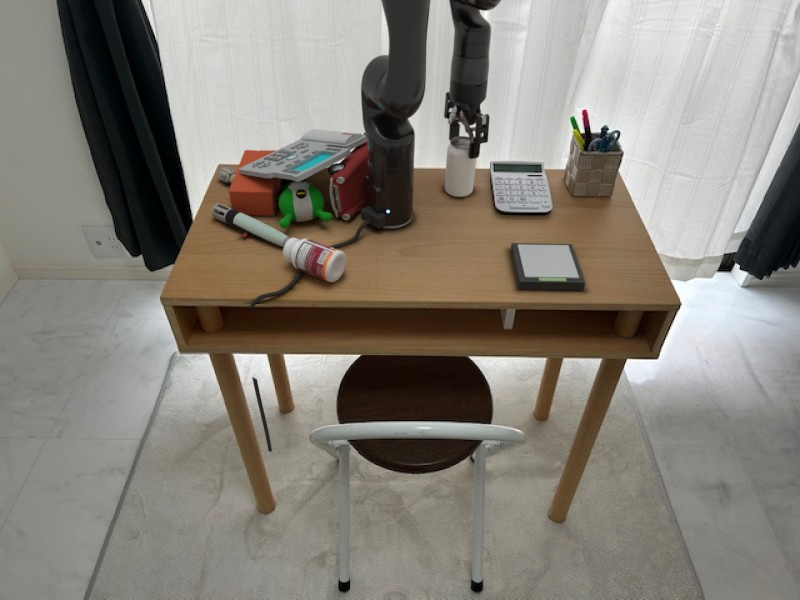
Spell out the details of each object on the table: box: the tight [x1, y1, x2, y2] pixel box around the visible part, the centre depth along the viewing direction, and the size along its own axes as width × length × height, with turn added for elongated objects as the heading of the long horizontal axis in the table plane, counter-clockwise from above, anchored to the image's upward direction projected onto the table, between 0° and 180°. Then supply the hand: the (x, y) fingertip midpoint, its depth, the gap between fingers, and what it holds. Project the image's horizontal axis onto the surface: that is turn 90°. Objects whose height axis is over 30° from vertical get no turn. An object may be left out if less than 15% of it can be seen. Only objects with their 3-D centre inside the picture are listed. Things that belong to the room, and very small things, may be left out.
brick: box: [228, 149, 283, 217], centre depth 136 cm, size 18×9×6 cm, turn 0°
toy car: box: [327, 131, 368, 221], centre depth 135 cm, size 11×25×10 cm
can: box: [444, 135, 477, 198], centre depth 137 cm, size 6×6×12 cm
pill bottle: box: [282, 237, 347, 283], centre depth 116 cm, size 6×6×11 cm
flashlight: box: [211, 202, 291, 248], centre depth 126 cm, size 3×4×20 cm
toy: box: [277, 180, 333, 229], centre depth 130 cm, size 11×8×15 cm
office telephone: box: [239, 129, 367, 182], centre depth 132 cm, size 23×3×20 cm
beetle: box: [218, 167, 237, 187], centre depth 140 cm, size 4×7×3 cm, turn 70°
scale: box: [509, 242, 586, 292], centre depth 118 cm, size 12×12×2 cm
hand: (463, 148), depth 134 cm, fingers open, 8 cm apart
